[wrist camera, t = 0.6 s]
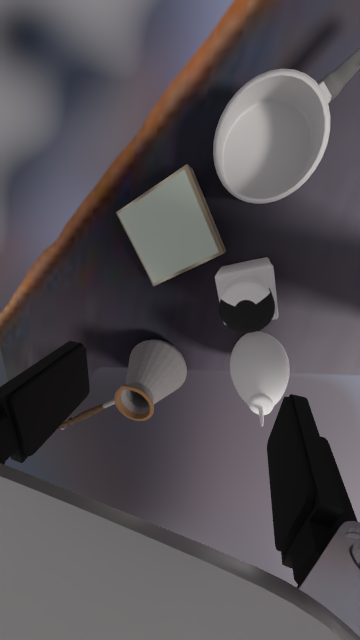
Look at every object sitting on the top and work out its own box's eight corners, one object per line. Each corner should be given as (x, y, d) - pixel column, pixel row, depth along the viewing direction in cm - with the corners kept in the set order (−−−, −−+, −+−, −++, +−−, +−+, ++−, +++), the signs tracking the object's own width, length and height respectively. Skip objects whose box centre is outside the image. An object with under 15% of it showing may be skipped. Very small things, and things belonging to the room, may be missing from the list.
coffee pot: (174, 325, 42) (139, 374, 28) (199, 376, 45) (178, 442, 31) (92, 354, 50) (35, 401, 37) (117, 395, 53) (73, 453, 40)
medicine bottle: (274, 302, 35) (284, 336, 25) (227, 308, 38) (219, 342, 27) (268, 256, 33) (277, 272, 22) (220, 266, 35) (207, 285, 25)
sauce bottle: (292, 336, 37) (325, 424, 21) (264, 369, 40) (273, 466, 24) (249, 312, 37) (248, 380, 21) (225, 347, 41) (209, 428, 25)
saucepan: (421, 90, 23) (467, 55, 18) (250, 225, 32) (250, 225, 27) (365, -20, 22) (399, -91, 17) (201, 154, 31) (192, 141, 26)
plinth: (192, 169, 31) (185, 162, 28) (226, 250, 34) (223, 253, 31) (126, 213, 36) (113, 212, 33) (160, 281, 39) (152, 287, 36)
